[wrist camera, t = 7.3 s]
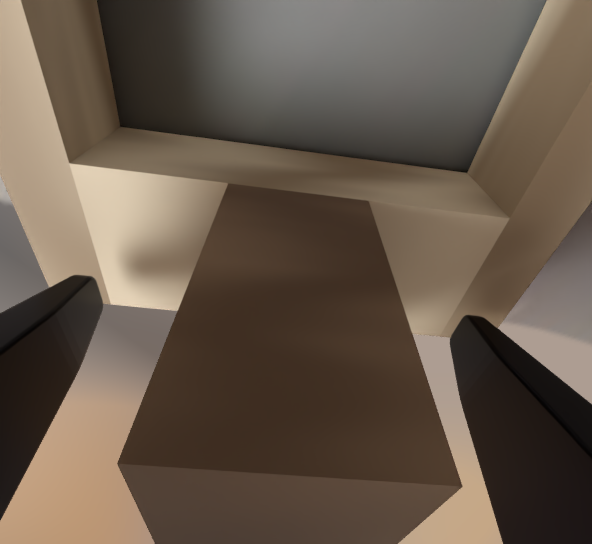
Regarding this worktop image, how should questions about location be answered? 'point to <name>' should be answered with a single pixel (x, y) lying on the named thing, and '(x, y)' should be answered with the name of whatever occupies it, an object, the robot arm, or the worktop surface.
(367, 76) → the worktop surface
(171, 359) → the ash sled frame
